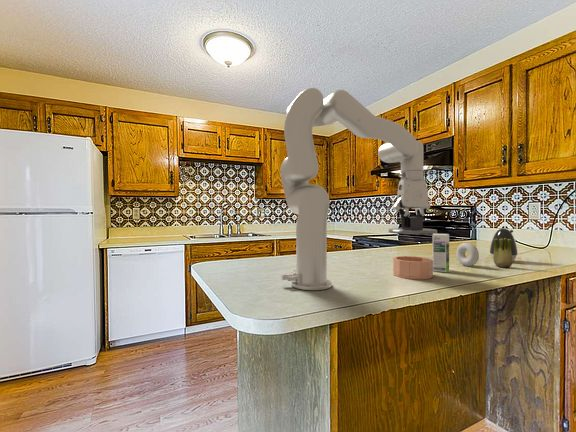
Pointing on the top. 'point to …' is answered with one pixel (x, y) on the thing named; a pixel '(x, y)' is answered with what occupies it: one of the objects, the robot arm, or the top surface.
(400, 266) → the bowl
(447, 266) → the syrup box
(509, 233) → the dark glossy dome
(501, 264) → the fennel bulb
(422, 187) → the robot arm
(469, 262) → the donut
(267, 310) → the top surface
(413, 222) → the lid
